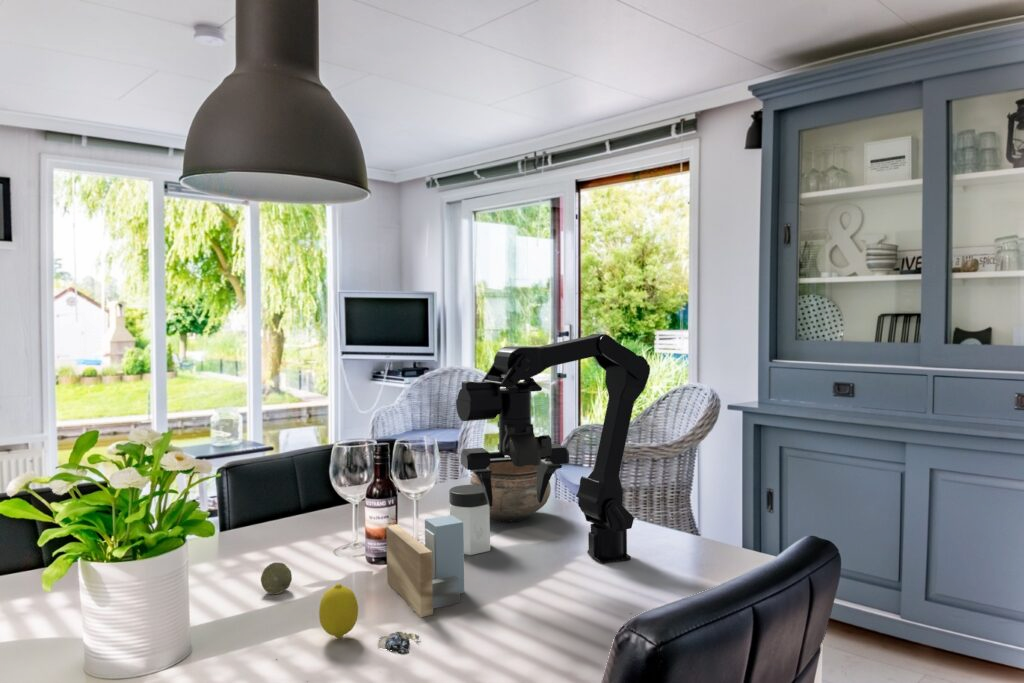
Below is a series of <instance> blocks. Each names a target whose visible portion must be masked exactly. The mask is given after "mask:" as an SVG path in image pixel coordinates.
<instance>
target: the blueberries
mask: <svg viewBox="0 0 1024 683" xmlns="http://www.w3.org/2000/svg"><path fill="white" fill-rule="evenodd" d="M419 638H420V636H419V634H418V635H417V634H416V633H407V632H403V631H396V632H392V633H390V634H389V635H388V636H386V635H384V636H382V635H381V636H380V637H379V638H378V639H379V640H378V643H377V645H378V648H383V649H387V650H386V651H388V650H389V651H388V652H391V653H397V654H398V655H403V654H404V655H406V654H409V653H410V651H409V648H410V641H411V640H412V641H413V642H415V644H416V645H418V646H421V644H419V643H418V642H420V641H421V639H419ZM390 650H392V651H390Z"/></svg>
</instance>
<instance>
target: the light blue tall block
mask: <svg viewBox="0 0 1024 683" xmlns="http://www.w3.org/2000/svg"><path fill="white" fill-rule="evenodd" d="M424 546H425V547H427V548H428V549H429V550H430V551H432V580H436V579H441V578H446V577H451V576H457V577H458V578H459V594H462V593H465V562H464V561H465V558H464V557H465V554H464V537H463V522H462V521H460V520H459V519H457V518H456V517H454V516H452V515H450V514H449V515H444V516H443V515H442V516H438V517H437V516H436V517H431V518H425V519H424Z"/></svg>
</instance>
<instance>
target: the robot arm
mask: <svg viewBox="0 0 1024 683" xmlns="http://www.w3.org/2000/svg"><path fill="white" fill-rule="evenodd" d="M589 358H593V359H594V360H595V362H596V364H597V365H598V366H599V367H600V368H601V369H603V370H604V371H605V378H604V381H605V382H604V383H605V387H606V391H607V394H608V401H607V406H606V410H605V414H604V415H605V416H604V419H603V423H602V430H601V434H600V439H599V443H598V449H597V453H596V459H595V463H594V468H593V470H592V472H591V473H590V474H589V475H588V476H587V477H586V476H583V475H582V476H580V477H581V478H580V479H579V489H578V491H577V493H576V495H575V497H577V499H578V500H577V505H578V508H579V509H580V511H581V512H582V513H583V515H584V517H585V521H587V523H588V522H589V523H590V531H589V532H587V533H588V534H587V536H588V537H587V539H588V540H587V541H588V543H587V544H588V549H587V551H586V552H587V554H588V555H590V557H592V558H594V559H595V560H596V561H597V562H598V563H600V564H604V563H612V562H619V561H620V562H621V561H629V560H631V559H632V556H631V555H629V554H628V537H627V536H628V531H627V530H630V529H632V527H633V524H634V520H635V517H634V516H633V515H632V514H631V513H630V512H629V511H628V509H626V508H625V507H624V505H623V504H624V502H623V500H624V490H623V487H622V482H621V477H620V472H621V468H622V463H623V458H624V452H625V448H626V443H627V440H628V434H629V431H630V430H629V429H630V424H631V418H632V414H633V409H634V405H635V402H636V401H637V399H638V398H639V397H640V396H641V394H642V393H643V392H644V390H645V388H646V385H647V383H648V380H649V377H650V373H651V366H650V364H649V362H648V360H647V359H646V358H645V357H643V355H638V354H636V353H635V352H634V351H633V350H631V349H630V348H627V347H626V346H624V345H622V344H620V343H619V342H617V341H616V340H615V339H614V338H613V337H612V336H610V335H609V334H606V333H591V334H589V335H587V336H583V337H577V338H573V339H568V340H565V341H563V340H562V341H558V342H554V343H550V344H544V345H539V346H536V345H533V346H532V345H531V346H524V345H523V346H521V345H520V346H518V345H517V346H510V345H509V346H503V347H501V348H499V349H498V350H497V352H496V354H495V356H494V359H493V363H492V365H491V366H490V368H489V369H488V371H487V373H486V374H485V375H484V377H483V379H482V380H481V381H470V380H469V381H468V380H467V381H461V388H460V390H459V391H458V394H457V398H456V400H455V406H456V412H457V415H458V418H459V419H460V421H461V422H470V421H472V422H473V421H482V420H483V421H485V420H494V419H496V418H497V416H498V421H497V427H498V438H499V439H498V443H497V451H493V452H492V451H491V452H489V451H488V450H486V449H485V448H483V447H477V448H475V447H474V448H473V447H472V448H464V449H463V450H462V451H461V453H460V465H461V466H462V467H464V468H465V469H466V470H468V471H471V473H472V474H473V473H474V474H476V475H477V477H478V479H479V481H480V483H481V486H482V488H483V491H484V494H485V497H486V499H487V502H488V505H489V506H490V507H492V503H493V497H492V486H491V474H492V471H491V470H490V469H489V468H488V466H489V465H490V463H498V462H513V464H514V465H515V466H517V467H523V466H526V465H534V466H537V499H538V502H539V503H541V502H542V500H543V497H544V494H545V491H546V488H547V485H548V483H549V482H550V480H551V478H552V476H553V474H554V473H555V472H556V471H557V470H559V469H560V470H561V469H562V467H563V464H564V465H565V464H569V463H570V451H569V450H568V448H567V447H566V446H564V445H561V444H560V443H552V438H551V435H549V434H546V435H545V434H544V435H538V436H536V435H535V433H534V424H533V423H532V392H541V391H542V390H543V387H542V386H541V385H539V384H538V383H537V382H536V381H535V379H534V377H536V376H537V375H540V374H542V373H543V372H544V371H545V370H547V369H549V368H551V367H554V366H559V365H562V364H564V365H565V364H567V363H572V362H576V361H580V360H585V359H589Z"/></svg>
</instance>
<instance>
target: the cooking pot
mask: <svg viewBox="0 0 1024 683" xmlns="http://www.w3.org/2000/svg"><path fill="white" fill-rule="evenodd" d="M488 468H489V469H490V470H491V471H492V474H491V486H492V497H493V503H492V507H490V506H489V509H490V517H492V518H494V519H496V520H497V521H500V522H503V523H505V522H506V523H513V522H521V521H522V520H523V521H524V520H525V519H526V518H528V517H529V516H531V515H532V514H534V513H536V512H538V511H539V510H540V509H542V508H543V507H544V506H545V505H546V504H547V503H548V502H547V501H548V500H549V497H550V496H551V490H552V488H551V483H550V481H549V483H548V485H547V488H546V491H545V494H544V497H543V500H542V502H541V503H539V502H538V499H537V466H534V465H526V466H523V467H517V466H515V465H514V464H513V462H498V463H490V465H489V466H488ZM469 481H470V482H469V484H468V485H481V483H480V481H479V479H478V477H477V475H476V474H474V473H473V472H472V474H471V477H470V480H469Z"/></svg>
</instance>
